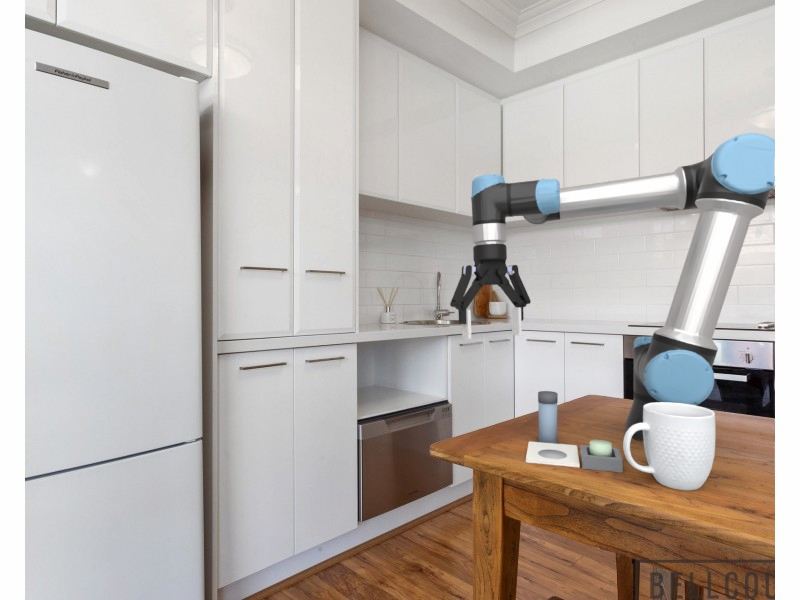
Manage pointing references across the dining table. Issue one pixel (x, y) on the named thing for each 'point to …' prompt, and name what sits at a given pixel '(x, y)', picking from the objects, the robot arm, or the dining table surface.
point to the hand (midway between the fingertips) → (492, 337)
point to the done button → (600, 448)
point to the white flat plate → (552, 454)
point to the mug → (675, 443)
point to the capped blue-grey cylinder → (548, 416)
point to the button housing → (601, 460)
